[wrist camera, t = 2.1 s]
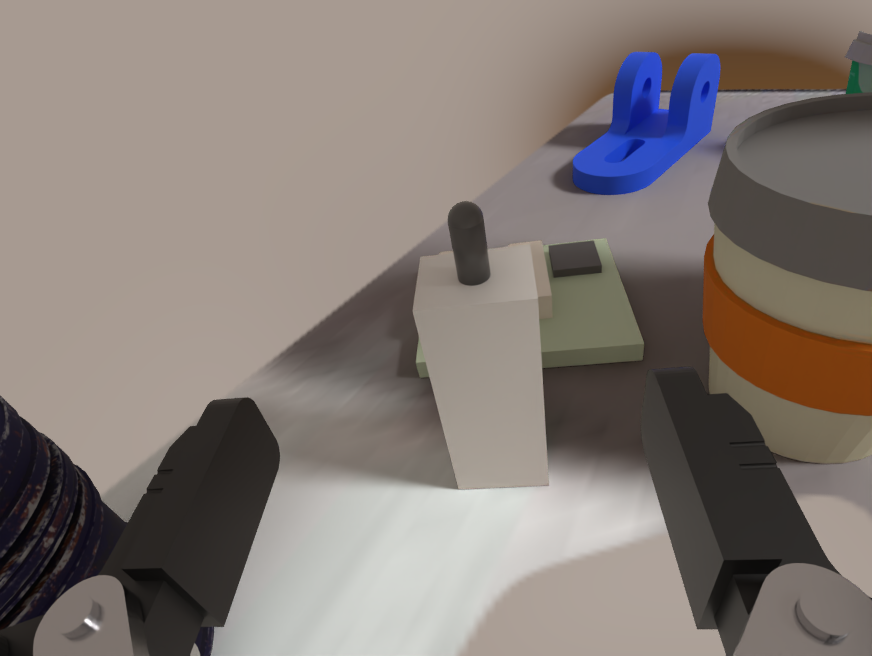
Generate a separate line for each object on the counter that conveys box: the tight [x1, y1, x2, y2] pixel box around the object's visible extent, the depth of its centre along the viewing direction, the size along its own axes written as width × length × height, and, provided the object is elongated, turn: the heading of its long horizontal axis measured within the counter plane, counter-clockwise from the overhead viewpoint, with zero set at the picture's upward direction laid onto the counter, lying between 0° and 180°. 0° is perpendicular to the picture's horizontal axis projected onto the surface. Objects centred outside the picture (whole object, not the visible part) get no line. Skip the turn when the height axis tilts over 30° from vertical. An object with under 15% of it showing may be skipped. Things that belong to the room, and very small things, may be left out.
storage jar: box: [0, 396, 214, 656], centre depth 20 cm, size 10×10×15 cm
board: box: [416, 238, 644, 378], centre depth 39 cm, size 15×13×4 cm
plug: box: [412, 201, 549, 489], centre depth 25 cm, size 5×5×16 cm
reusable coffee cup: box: [703, 92, 872, 464], centre depth 25 cm, size 13×12×15 cm
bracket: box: [573, 52, 720, 195], centre depth 54 cm, size 18×8×9 cm, turn 137°
